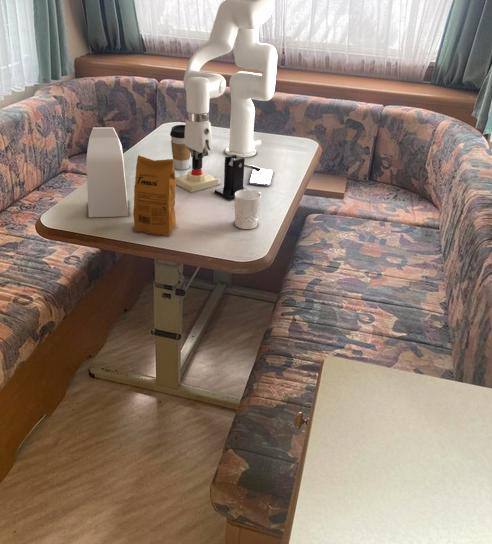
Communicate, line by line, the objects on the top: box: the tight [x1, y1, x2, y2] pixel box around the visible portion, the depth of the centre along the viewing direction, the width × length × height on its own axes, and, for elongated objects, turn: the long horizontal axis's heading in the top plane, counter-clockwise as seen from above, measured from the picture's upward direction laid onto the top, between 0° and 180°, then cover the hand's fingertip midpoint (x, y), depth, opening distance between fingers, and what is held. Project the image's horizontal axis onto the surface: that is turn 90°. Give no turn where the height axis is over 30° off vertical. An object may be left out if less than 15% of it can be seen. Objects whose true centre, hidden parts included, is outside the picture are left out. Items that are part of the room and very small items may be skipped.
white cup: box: [234, 188, 262, 230], centre depth 174 cm, size 8×8×10 cm
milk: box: [85, 126, 129, 218], centre depth 176 cm, size 12×12×26 cm
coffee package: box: [133, 154, 177, 236], centre depth 166 cm, size 10×12×22 cm
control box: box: [175, 170, 219, 193], centre depth 203 cm, size 12×10×4 cm
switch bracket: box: [213, 155, 248, 201], centre depth 194 cm, size 10×8×13 cm
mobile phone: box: [248, 168, 274, 187], centre depth 210 cm, size 8×1×15 cm
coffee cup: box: [169, 124, 191, 171], centre depth 214 cm, size 8×8×15 cm
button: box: [191, 168, 203, 176], centre depth 201 cm, size 4×4×2 cm
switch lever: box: [229, 158, 262, 171], centre depth 195 cm, size 12×5×2 cm, turn 130°
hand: (197, 168), depth 201 cm, fingers closed
